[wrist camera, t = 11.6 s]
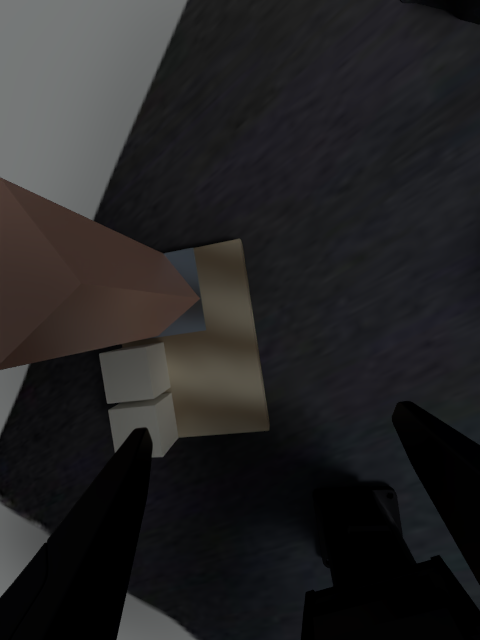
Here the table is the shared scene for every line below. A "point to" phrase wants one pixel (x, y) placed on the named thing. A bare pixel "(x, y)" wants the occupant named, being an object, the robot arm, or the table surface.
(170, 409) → the built blocks
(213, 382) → the board
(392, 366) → the table surface
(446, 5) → the dark slate chunk
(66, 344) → the tower block
